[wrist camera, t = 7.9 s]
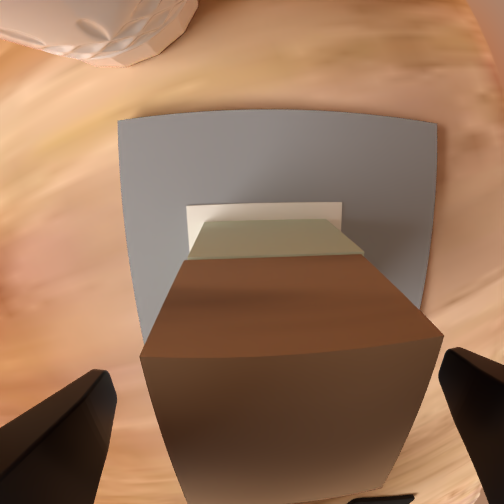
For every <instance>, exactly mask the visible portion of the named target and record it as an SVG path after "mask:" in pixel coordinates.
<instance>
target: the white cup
mask: <svg viewBox="0 0 504 504" xmlns="http://www.w3.org/2000/svg"><path fill="white" fill-rule="evenodd" d="M197 8H198V0H0V39H2V40H5V41H9V42H13V43H16V44H19V45H23V46H26V47H30V48H33V49H39V50H42V51H45V52H48V53H52V54H55V55H58V56H64V57H69V58H75V59H78V60H80V61H83V62H85V63H88V64H90V65H93V66H95V67H128V66H131V65H133V64H136V63H138V62H141V61H143V60H146V59H148V58H151V57H153V56H156V55H158V54H159V53H161V52H162V51H163V50H164V49H165V48H166V47H167V46H169V45H170V44H171V43H172V42H173V41H175V40H176V39H177V38H178V37H179V36H181V35H182V34H183V33H184V32H185V30H186V28H187V26H188V24H189V22H190V20H191V19H192V17H193V15H194V13H195V11H196V10H197Z"/></svg>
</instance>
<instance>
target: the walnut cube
mask: <svg viewBox="0 0 504 504" xmlns="http://www.w3.org/2000/svg"><path fill="white" fill-rule="evenodd" d="M443 338H444V335H443V334H442V333H441V332H440V331H439V330H438V328H437V327H436V326H435V325H434V324H433V323H432V322H431V321H430V320H429V319H428V318H427V317H426V316H425V315H424V314H423V313H422V312H421V311H420V310H419V309H418V308H417V307H416V306H415V305H414V304H413V303H412V302H411V301H410V300H409V299H408V298H407V297H406V296H405V295H404V294H403V293H402V292H401V291H400V290H399V289H398V288H397V287H396V286H394V285H393V284H392V283H391V282H390V281H389V280H388V279H387V278H386V277H385V276H384V275H383V274H382V273H381V272H380V271H379V270H378V269H377V268H376V267H374V266H373V265H372V264H371V263H370V262H369V261H368V260H367V259H366V258H365V257H364V256H363V255H362V254H347V255H320V256H292V257H264V258H234V259H203V260H184V261H183V263H182V265H181V267H180V269H179V271H178V274H177V276H176V278H175V280H174V282H173V284H172V286H171V288H170V290H169V292H168V295H167V297H166V299H165V301H164V303H163V305H162V307H161V310H160V312H159V314H158V316H157V318H156V320H155V323H154V325H153V327H152V329H151V332H150V334H149V336H148V338H147V341H146V343H145V345H144V347H143V350H142V352H141V354H140V356H139V357H140V361H141V365H142V369H143V373H144V376H145V380H146V384H147V387H148V391H149V394H150V398H151V401H152V405H153V408H154V411H155V415H156V418H157V421H158V424H159V427H160V431H161V434H162V437H163V440H164V443H165V445H166V448H167V451H168V454H169V457H170V460H171V462H172V465H173V468H174V471H175V473H176V476H177V478H178V481H179V483H180V486H181V489H182V491H183V493H184V496H185V498H186V501H187V503H188V504H293V503H302V502H310V501H317V500H324V499H330V498H336V497H342V496H347V495H352V494H357V493H362V492H366V491H371V490H375V489H379V488H382V486H383V484H384V483H385V481H386V479H387V477H388V475H389V473H390V471H391V470H392V468H393V466H394V464H395V462H396V460H397V458H398V456H399V454H400V452H401V449H402V447H403V445H404V443H405V441H406V439H407V437H408V434H409V432H410V430H411V427H412V425H413V423H414V420H415V418H416V416H417V413H418V411H419V408H420V406H421V403H422V401H423V398H424V395H425V393H426V390H427V387H428V384H429V382H430V379H431V376H432V373H433V370H434V367H435V364H436V361H437V358H438V354H439V351H440V348H441V345H442V341H443Z"/></svg>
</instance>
